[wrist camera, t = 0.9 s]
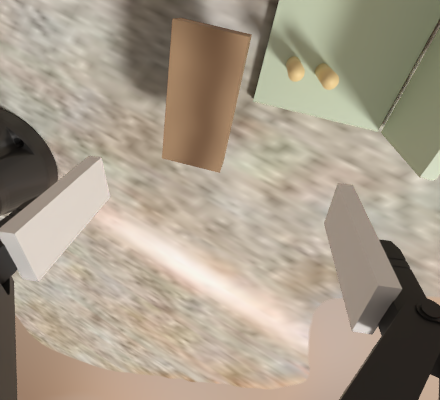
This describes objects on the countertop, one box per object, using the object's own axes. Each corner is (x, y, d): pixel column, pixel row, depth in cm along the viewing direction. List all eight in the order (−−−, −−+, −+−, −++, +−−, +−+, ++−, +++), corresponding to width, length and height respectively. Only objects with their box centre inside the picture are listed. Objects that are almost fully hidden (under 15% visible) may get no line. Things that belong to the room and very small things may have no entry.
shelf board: (169, 148, 30) (162, 158, 28) (181, 17, 23) (172, 18, 21) (223, 161, 30) (219, 172, 28) (251, 34, 23) (249, 37, 21)
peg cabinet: (253, 99, 31) (245, 134, 23) (309, -120, 22) (334, -212, 13) (388, 131, 31) (434, 181, 22) (508, -76, 21) (678, -138, 12)
